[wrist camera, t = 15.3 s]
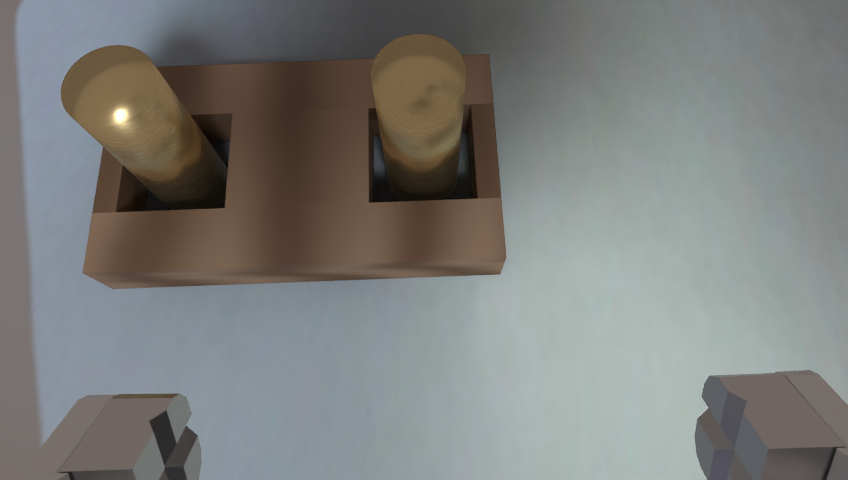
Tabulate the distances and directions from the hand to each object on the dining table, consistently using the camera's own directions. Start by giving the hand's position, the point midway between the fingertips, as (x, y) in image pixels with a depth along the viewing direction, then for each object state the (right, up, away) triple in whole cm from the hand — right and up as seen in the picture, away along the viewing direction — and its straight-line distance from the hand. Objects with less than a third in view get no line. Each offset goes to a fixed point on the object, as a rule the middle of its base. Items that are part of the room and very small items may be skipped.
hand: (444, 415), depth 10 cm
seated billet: (-13, +6, +25) cm, 29 cm away
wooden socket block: (-7, +6, +25) cm, 27 cm away
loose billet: (0, +6, +25) cm, 26 cm away
